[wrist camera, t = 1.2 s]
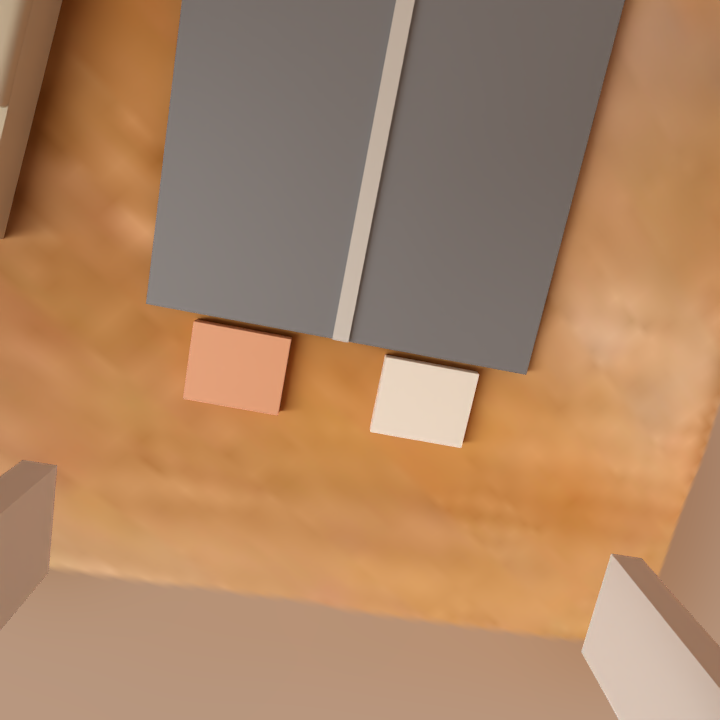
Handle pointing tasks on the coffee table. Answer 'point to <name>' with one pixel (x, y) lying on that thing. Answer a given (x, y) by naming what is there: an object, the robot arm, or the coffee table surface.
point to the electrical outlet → (20, 83)
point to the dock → (373, 188)
